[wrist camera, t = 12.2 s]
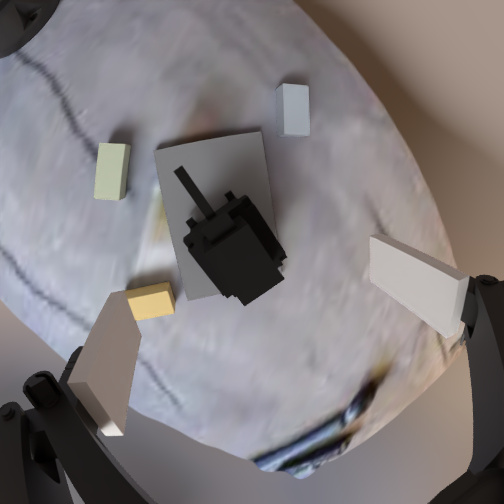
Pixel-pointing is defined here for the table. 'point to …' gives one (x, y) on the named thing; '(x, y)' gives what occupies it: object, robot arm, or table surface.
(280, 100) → the dusty blue brick
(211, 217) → the toy
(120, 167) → the sage brick
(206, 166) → the felt pad
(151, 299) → the mustard brick
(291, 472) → the table surface
